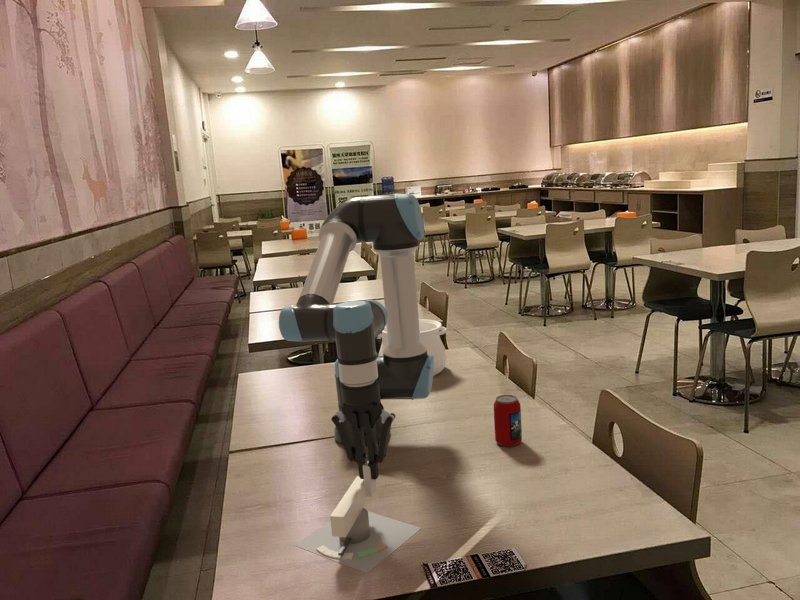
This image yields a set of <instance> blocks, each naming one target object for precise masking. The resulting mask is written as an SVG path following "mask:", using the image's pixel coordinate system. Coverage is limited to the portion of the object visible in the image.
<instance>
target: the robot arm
mask: <svg viewBox="0 0 800 600" xmlns="http://www.w3.org/2000/svg"><path fill="white" fill-rule="evenodd" d="M424 237H425V224H424V216H423V213H422V208H421V205H420V203H419V201H418V199H417V197H416V196H415V195H413V194H411V193H390V194H380V195H368V196H363V195H362V196H355V197H352V198H349V199H348V200H346V201H344V202H342V203H340V204H339V205H337V206H336V207H335V208H334V209H332V211H330V213H329V214H328V215H327V216H326V217H325V219H324V220H323V222H322V224H321V227H320V229H319V232H318V240H319V244H318V246H317V248H316V252H315V254H314V257H313V259H312V263H311V265H310V268H309V271H308V274H307V276H306V278H305V281H304V284H303V286H302V289H301V291H300V294H299V297H298V299H297V303H296V304H295V305H292V304H291V305H288V306H284V307H282V309H281V310H280V312H279V316H278V329H279V332H280V335H281V337H282V338H283V339H284V340H285V341H288V342H301V343H304V342H321V341H322V342H324V341H335V345H336V353H337V359H336V360H335V363H334V378H335V385H336V388H335V389H336V396H337V405H338V406H337V407H338V411H337V412H336V413H335V414H333V416H332V417H331V420H330V421H331V422H332V423H333V424H334V431H333V432H334V439H335V441H336V442H338V443H339V444H342V446H343V449H344V451H345V454H346V457H347V460H348V461H349V462H354V463H356V464H357V466H358V476H359V477H360V479H364V484H365V491H366V496H369V498H370V497H373V496H374V495H375V493H376V491H377V484H376V480H377V479H378V478H379V475H380V471H379V463H380V464H381V463H383V462H384V460H385V459H386V457H387V453H388V448H389V443H390V442H389V441H390V434H391V430H392V424H393V422H394V420H395V419H396V413H394V412H391V413H389V412H388V411H386V410H385V408H384V405H383V404H382V401H381V400H411V401H414V400H419V399H427V398H428V397H429V396H430V395H431V392H432V388H433V387H432V386H433V382H434V376H433V374H434V357H433V355H430V354H427V347H426V346H425V345H423V344H422V343H421V341H420V329H419V319H420V318H419V305H418V303H419V302H418V293H417V292H418V291H417V280H416V277H417V276H416V269H415V256H414V255H415V254H414V253H415V252H416V251H417V249H418V248H419V247H420V243H419V242H420V241H421V240H423V239H424ZM360 243H361V244H362V243H372V245H373V246H372V247H373V251H374V252H376V253H377V254H378V255H379V256H380V268H381V279H382V281H381V282H382V292H383V301H384V303H383V304H384V305H383V304H382V303H381V302H379V301H378V300H374V299H366V300H351V301H345V302H342V303H341V302H340V303H337V304H336V303H335V304H334V302H335V299H336V295H337V292H338V288H339V287H340V283H341V279H342V276H343V273H344V269H345V267H346V264H347V261H348V257H349V254H350V253H351V252H352V251H353V250H355V248H356V246H357V244H360ZM386 325H387V336H388V346H387V347H386V348H385V349H384V351H383V356H379V355H378V352H377V350H376V349H377V348H376V338H378V337H377V336H378V335H379V334H382V331H383V330H384V328H385V326H386ZM378 443H379V444H378ZM366 447H367V448H366Z"/></svg>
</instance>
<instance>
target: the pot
mask: <svg viewBox="0 0 800 600" xmlns="http://www.w3.org/2000/svg"><path fill="white" fill-rule="evenodd" d="M419 329H420V341H421V343H422V344H423V345H425V346H426V347H427V354H430V355H433V357H434V374H433V377H434V376H436V375H439V374H440V373H441V372H442V371H443V370H444V369H445V367H446V364H447V351H446V347H445V345H444V343H443V341H442V339H441V335H445V334H446V333H447V328H446V327H445V326H442V322H440V321H437V320H434V319H425V318H424V319H423V318H421V319H420V318H419ZM376 338H381V339H382V340H381V345H380V349H379V352H378V356H383V351H384V349H385V348H386V347H387V346H388V336H387V325H386V326H385V328H384V330H383V331H382V333H380V334H379V335H378V336H377V337H376Z"/></svg>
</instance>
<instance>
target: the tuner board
mask: <svg viewBox="0 0 800 600" xmlns="http://www.w3.org/2000/svg"><path fill="white" fill-rule="evenodd" d="M367 511H368V510H367ZM368 517H369V528H370V536H369V538H368V539H366V540H365V541H363V542H360V543H356V544H349V545H348V547H347V549H346V551H345V552H344V554H343V556H338V552H339V551H340V549H341V547H342V546H343V544H344V542H342V541H341V540H340V538H339V537H334V536H332V530H331V520H330V521H328V522H326V523H325V524H323V525H321V527H319V528H318V529H316V530H315V531H313V532H311V533H310V534H309V535H307V536H306V537H304V538H302V539H301V540H300V541H298V542H297V543H296V544H294V545H293V546H295V547H297V548H300V549H302V550H306V551H307V552H311V553H313V554H315V555H317V556H320V557H323V558H325V559H329V560H331V561H334V562H336V563H338V564H341V565H344V566H346V567H349V568H351V569H354V570H357V571H359V572H362V573H364V574H368V573H369V572H370V571H371V570H373V569H374V568H376V566H378V565H379V564H380V563H381V562H383V561H384V560H385V559H386V558H388V557H389V556H390V555H391V554H393V552H394V551H396V550H397V549H398V548H400V547H401V546H402V545H403V544H405V543H406V542H407V541H408V540H410V539H411V538H412V537H413V536H415V535H416V534H417V533H418V532H419V531H421V529H422V527H420V526H416V525H413V524H410V523H407V522H403V521H400V520H397V519H394V518H390V517H389V516H388V517H387V516H384V515H382V514H378V513H375V512H372V511H368Z"/></svg>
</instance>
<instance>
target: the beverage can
mask: <svg viewBox="0 0 800 600" xmlns="http://www.w3.org/2000/svg"><path fill="white" fill-rule="evenodd" d="M521 414H522V410H521V402H520V401H519V399H518V397H517V396H516V395H513V394H502V395H497V396H496V398H495V401H494V403H493V419H494V421H493V422H494V423H493V424H494V438H495V439H494V440H495V442H496V444H498V445H500V446H502V447H506V448H507V447H508V448H509V447H511V448H512V447H515V446H517V445H519V444H520V443H522V441H523V436H522V435H523V434H522V433H523V432H522V430H523V429H522V415H521Z"/></svg>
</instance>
